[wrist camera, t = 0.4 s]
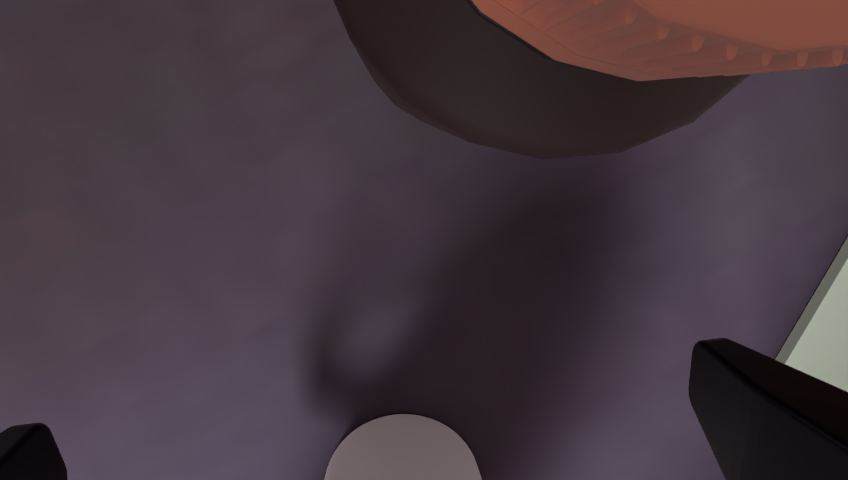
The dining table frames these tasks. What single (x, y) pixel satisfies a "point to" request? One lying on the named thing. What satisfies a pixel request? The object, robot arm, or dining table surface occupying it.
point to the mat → (823, 329)
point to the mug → (403, 452)
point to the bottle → (581, 63)
